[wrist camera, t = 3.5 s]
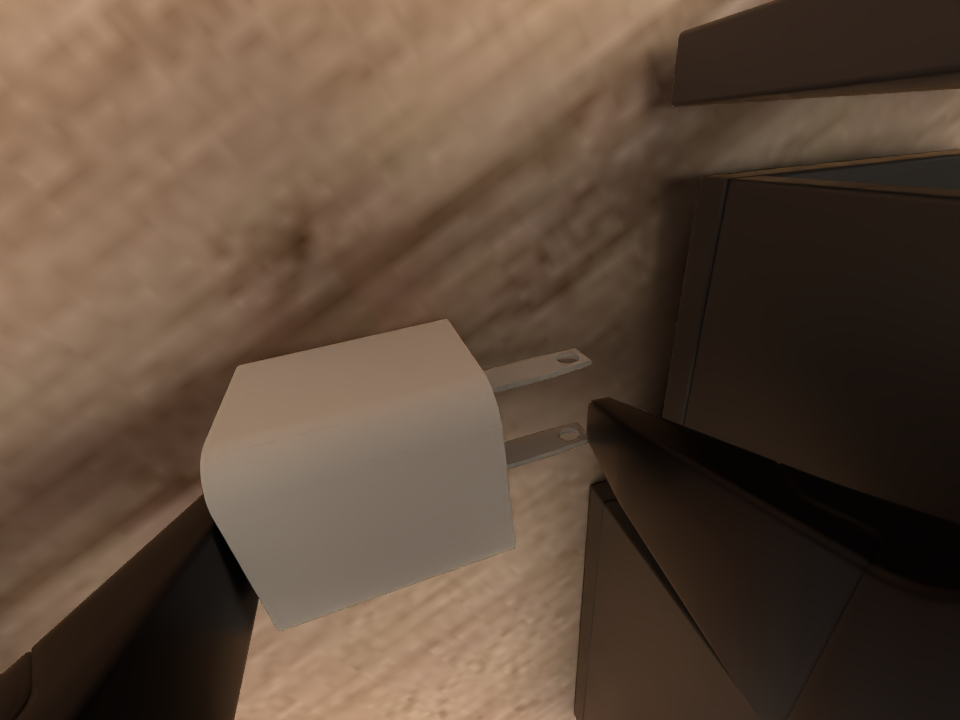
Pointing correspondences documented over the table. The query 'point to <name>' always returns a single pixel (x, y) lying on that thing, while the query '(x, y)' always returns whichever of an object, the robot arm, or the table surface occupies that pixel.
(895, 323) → the cabinet drawer
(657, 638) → the single drawer cabinet
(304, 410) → the usb wall charger
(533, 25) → the table surface
